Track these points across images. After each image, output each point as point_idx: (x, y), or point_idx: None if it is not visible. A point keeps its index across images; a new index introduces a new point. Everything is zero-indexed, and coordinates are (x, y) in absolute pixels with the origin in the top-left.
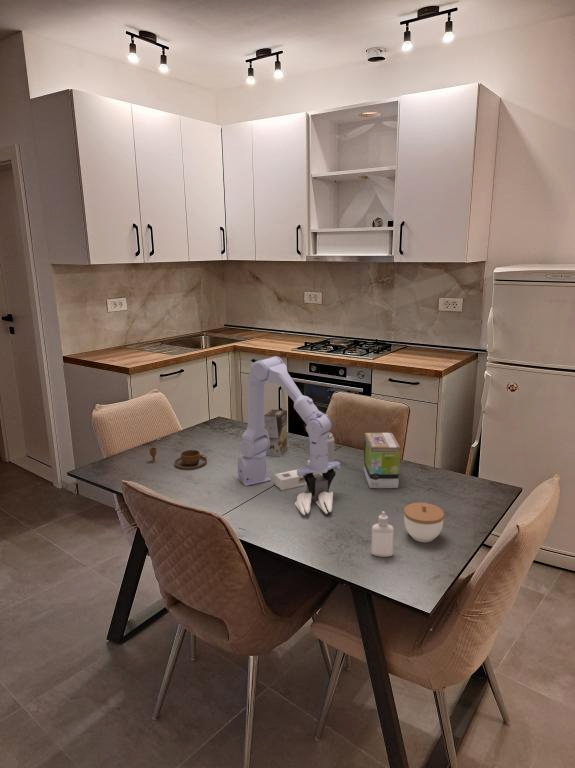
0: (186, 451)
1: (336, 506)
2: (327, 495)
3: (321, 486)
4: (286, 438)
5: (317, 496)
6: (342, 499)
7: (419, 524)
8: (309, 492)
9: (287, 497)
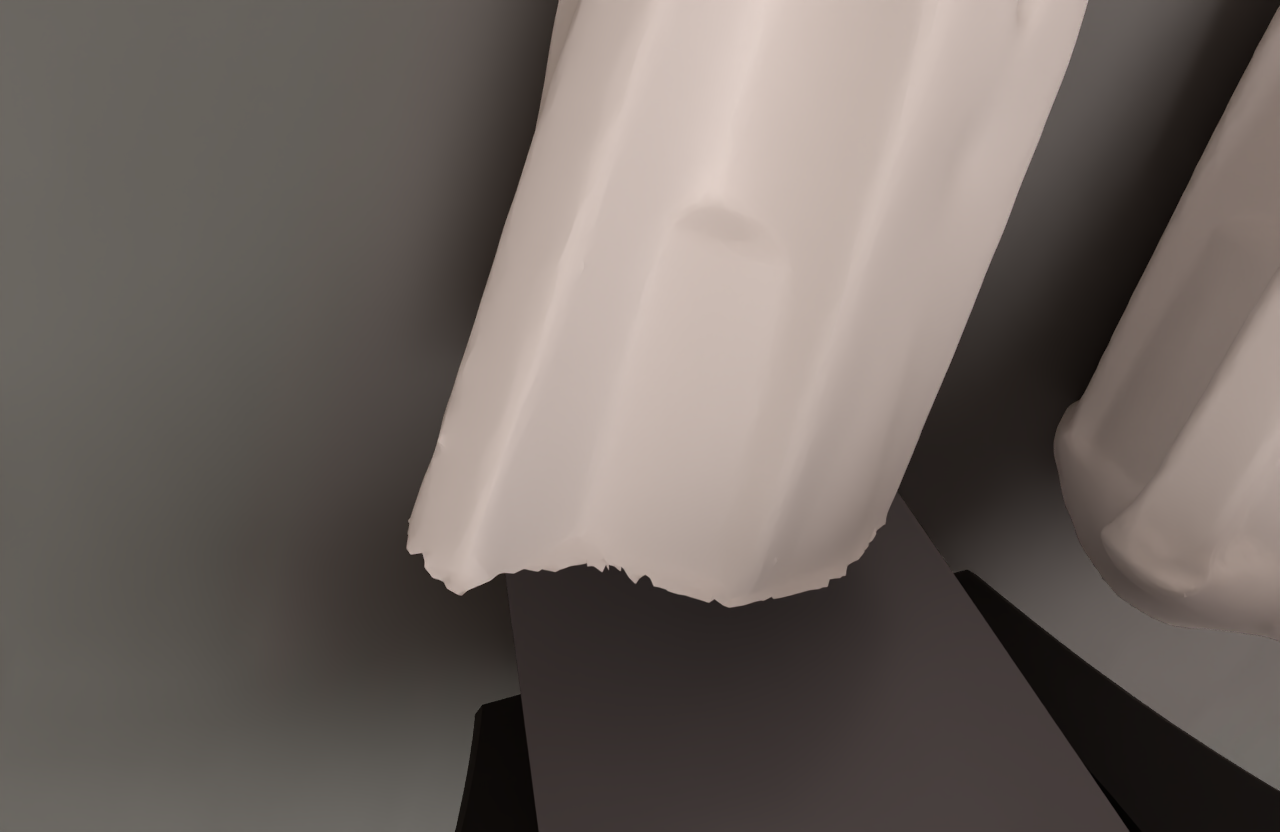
0: None
1: (354, 72)
2: (701, 376)
3: (828, 827)
4: None
5: None
6: (70, 472)
7: None
8: None
9: (1237, 677)
